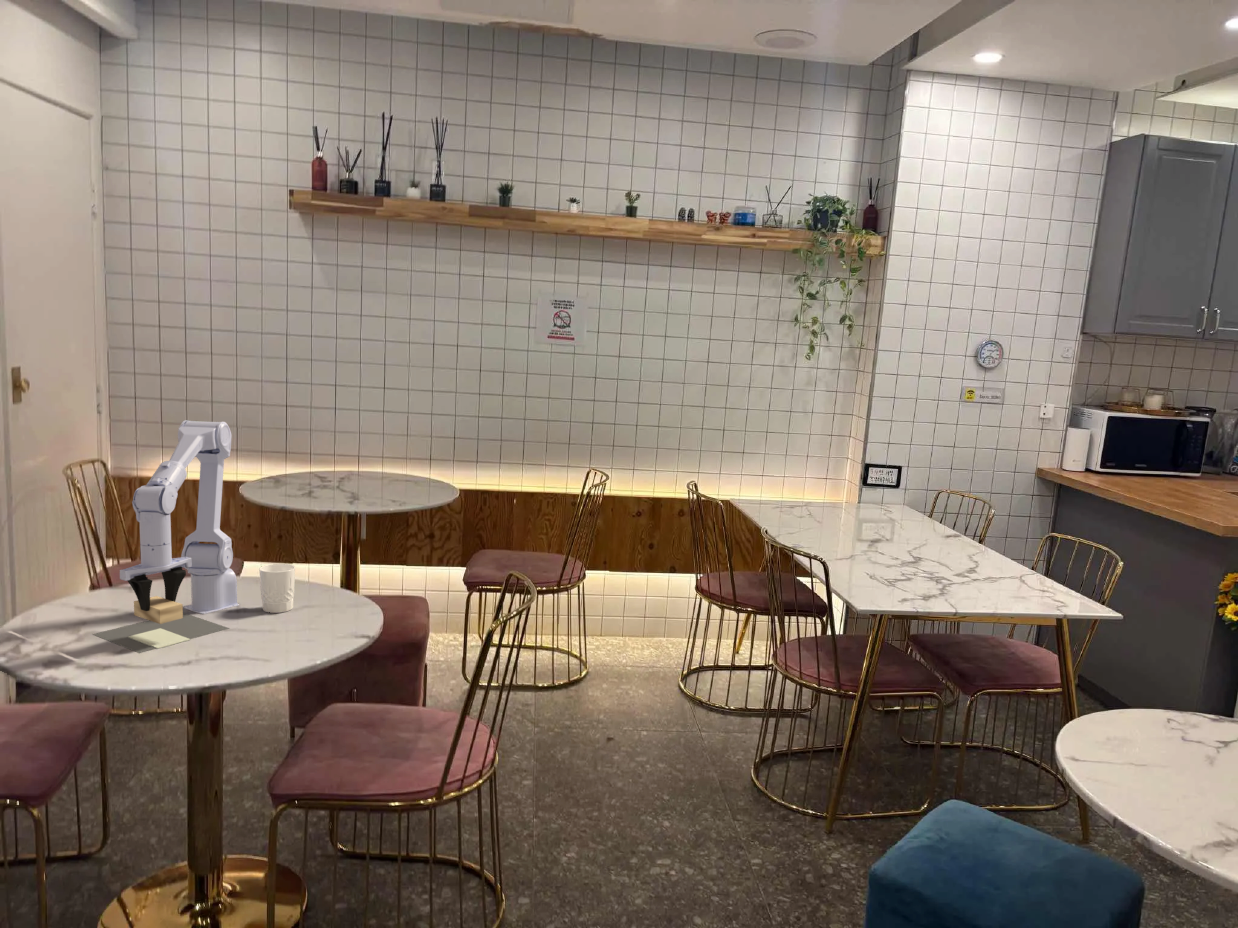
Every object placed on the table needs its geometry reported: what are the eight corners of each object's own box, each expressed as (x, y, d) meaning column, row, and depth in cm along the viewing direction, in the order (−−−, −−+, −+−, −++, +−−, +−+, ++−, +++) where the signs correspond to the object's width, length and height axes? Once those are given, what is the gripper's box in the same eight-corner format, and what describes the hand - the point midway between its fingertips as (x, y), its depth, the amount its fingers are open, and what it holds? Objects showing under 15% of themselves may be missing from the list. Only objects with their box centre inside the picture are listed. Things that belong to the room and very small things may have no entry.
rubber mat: (182, 613, 208) (182, 611, 208) (231, 630, 198) (231, 627, 198) (92, 635, 191) (92, 633, 191) (140, 655, 181) (140, 652, 181)
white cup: (258, 614, 210) (257, 572, 208) (261, 604, 217) (261, 564, 216) (294, 613, 212) (293, 571, 210) (296, 603, 219) (296, 563, 218)
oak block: (182, 617, 189) (182, 604, 189) (160, 623, 185) (159, 609, 185) (156, 609, 194) (156, 595, 193) (134, 615, 190) (133, 601, 189)
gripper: (176, 534, 196) (178, 595, 197) (109, 546, 183) (112, 611, 185) (197, 539, 192) (198, 601, 194) (130, 551, 180) (132, 617, 181)
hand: (158, 606), depth 189 cm, fingers closed on oak block, 5 cm apart
